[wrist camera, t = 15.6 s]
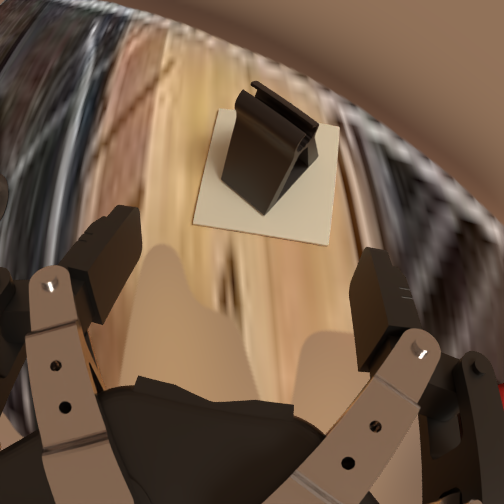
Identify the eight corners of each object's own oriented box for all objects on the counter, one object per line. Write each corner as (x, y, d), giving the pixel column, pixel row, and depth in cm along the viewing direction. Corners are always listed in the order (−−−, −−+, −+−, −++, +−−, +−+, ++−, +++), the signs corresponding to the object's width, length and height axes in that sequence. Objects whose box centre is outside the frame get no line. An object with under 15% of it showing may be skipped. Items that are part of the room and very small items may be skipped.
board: (193, 224, 34) (192, 223, 33) (219, 111, 36) (219, 108, 35) (327, 246, 33) (328, 245, 33) (338, 129, 35) (339, 127, 35)
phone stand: (276, 125, 35) (284, 55, 23) (318, 157, 34) (344, 95, 22) (220, 180, 34) (204, 122, 22) (263, 216, 33) (268, 172, 21)
